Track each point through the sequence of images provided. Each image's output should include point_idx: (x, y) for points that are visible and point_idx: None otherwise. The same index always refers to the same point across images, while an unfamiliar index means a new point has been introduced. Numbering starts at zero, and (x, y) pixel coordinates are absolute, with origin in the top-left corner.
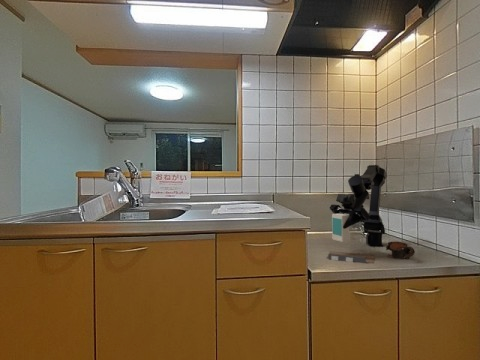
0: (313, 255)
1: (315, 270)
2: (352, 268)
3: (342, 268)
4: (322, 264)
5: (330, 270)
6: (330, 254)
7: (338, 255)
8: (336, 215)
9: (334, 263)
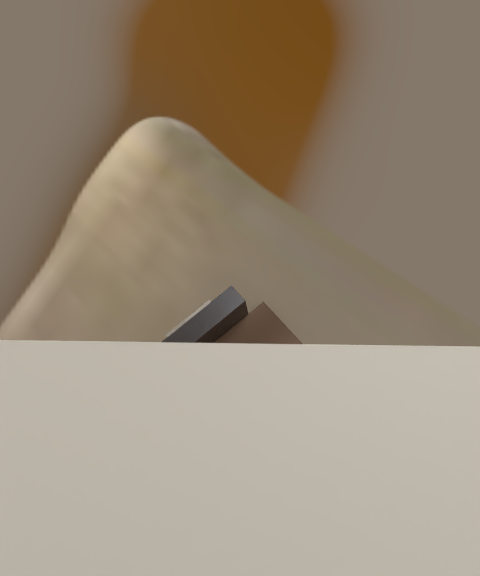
0: (443, 318)
1: (144, 134)
2: None
3: (78, 286)
4: (210, 231)
5: (96, 200)
6: (221, 299)
7: (165, 339)
8: (288, 349)
9: (184, 316)
